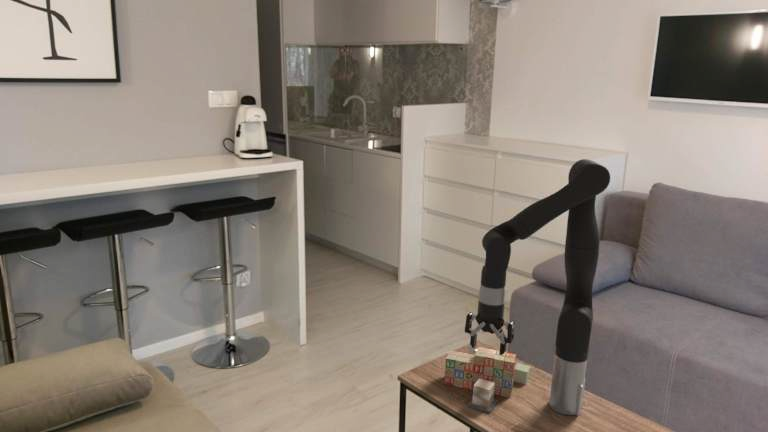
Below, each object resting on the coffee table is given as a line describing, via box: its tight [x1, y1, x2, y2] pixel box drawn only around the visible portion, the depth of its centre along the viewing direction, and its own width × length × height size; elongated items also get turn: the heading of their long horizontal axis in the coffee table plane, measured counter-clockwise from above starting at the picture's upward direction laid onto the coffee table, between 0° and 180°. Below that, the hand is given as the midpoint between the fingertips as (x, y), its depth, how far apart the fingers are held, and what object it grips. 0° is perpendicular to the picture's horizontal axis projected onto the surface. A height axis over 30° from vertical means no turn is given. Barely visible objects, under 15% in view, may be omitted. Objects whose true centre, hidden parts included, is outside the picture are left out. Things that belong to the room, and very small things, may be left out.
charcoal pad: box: [467, 397, 498, 414], centre depth 178 cm, size 7×7×1 cm
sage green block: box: [513, 362, 532, 386], centre depth 193 cm, size 4×4×4 cm
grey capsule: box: [467, 345, 479, 355], centre depth 201 cm, size 4×4×6 cm
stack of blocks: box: [443, 346, 517, 399], centre depth 187 cm, size 21×6×12 cm, turn 71°
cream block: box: [471, 378, 495, 408], centre depth 177 cm, size 5×5×6 cm
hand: (487, 350), depth 174 cm, fingers open, 8 cm apart
